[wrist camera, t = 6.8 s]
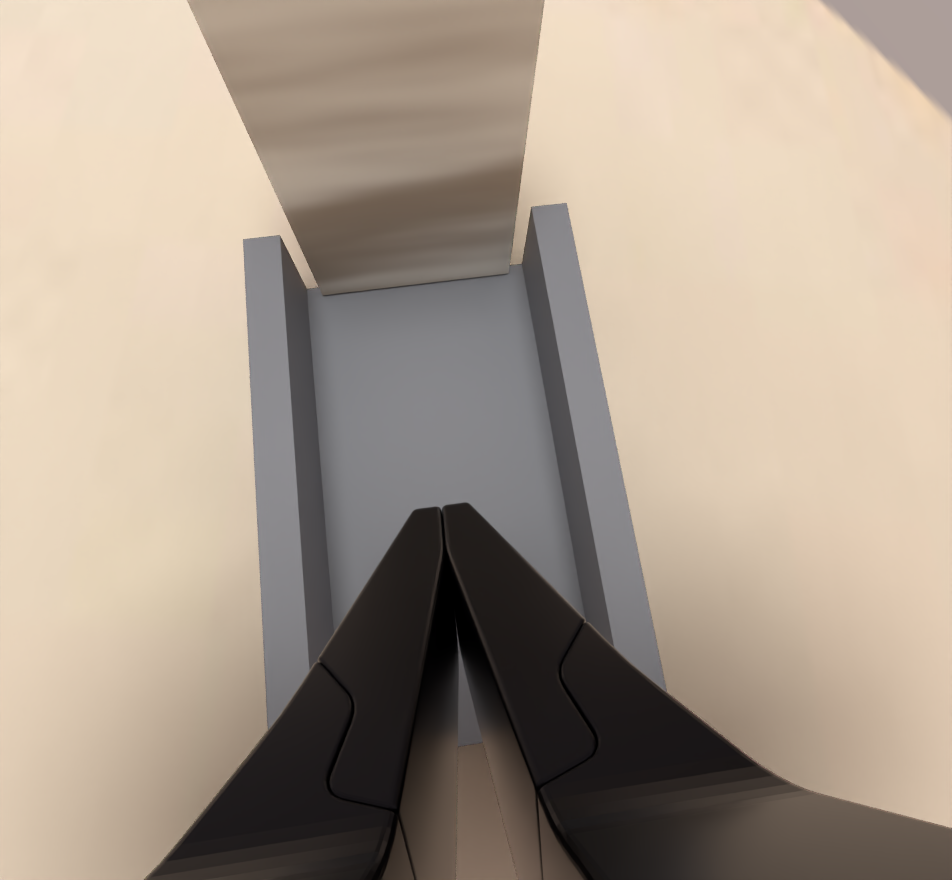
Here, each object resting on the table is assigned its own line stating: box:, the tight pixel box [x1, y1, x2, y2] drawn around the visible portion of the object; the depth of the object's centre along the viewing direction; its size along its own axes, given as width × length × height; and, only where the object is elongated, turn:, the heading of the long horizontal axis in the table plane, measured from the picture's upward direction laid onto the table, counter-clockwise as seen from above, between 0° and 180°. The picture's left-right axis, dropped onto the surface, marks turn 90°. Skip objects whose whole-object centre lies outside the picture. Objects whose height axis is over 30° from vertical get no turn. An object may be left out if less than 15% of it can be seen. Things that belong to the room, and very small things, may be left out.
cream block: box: [187, 0, 544, 295], centre depth 16 cm, size 4×6×10 cm, turn 98°
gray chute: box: [243, 203, 667, 747], centre depth 17 cm, size 14×10×4 cm
